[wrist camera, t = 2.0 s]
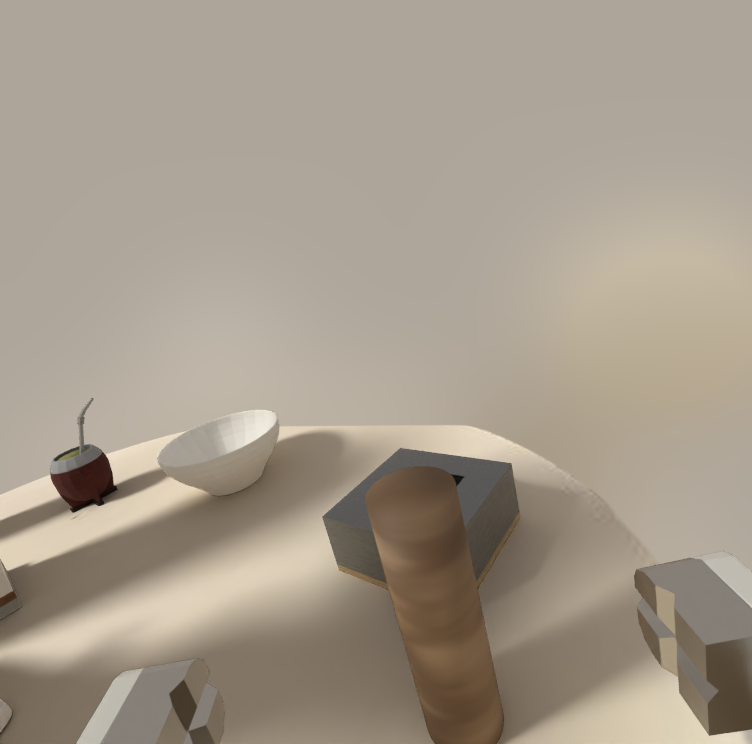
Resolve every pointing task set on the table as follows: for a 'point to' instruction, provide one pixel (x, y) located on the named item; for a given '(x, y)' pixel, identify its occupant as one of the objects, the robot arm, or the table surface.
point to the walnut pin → (437, 602)
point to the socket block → (477, 500)
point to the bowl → (222, 452)
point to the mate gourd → (82, 472)
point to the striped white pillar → (7, 594)
